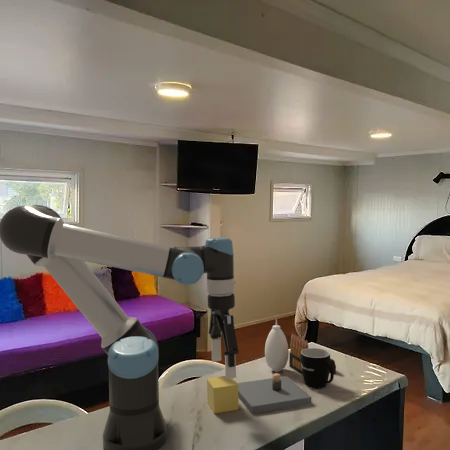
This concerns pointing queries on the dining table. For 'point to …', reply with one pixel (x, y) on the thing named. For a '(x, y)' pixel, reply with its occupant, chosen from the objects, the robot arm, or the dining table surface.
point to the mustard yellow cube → (222, 394)
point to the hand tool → (333, 365)
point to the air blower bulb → (276, 349)
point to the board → (272, 394)
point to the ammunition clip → (296, 352)
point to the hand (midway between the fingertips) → (223, 369)
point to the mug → (316, 367)
